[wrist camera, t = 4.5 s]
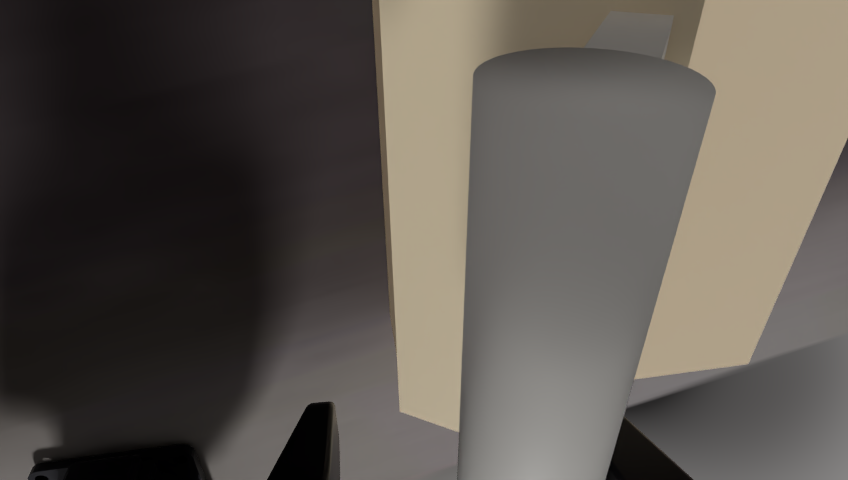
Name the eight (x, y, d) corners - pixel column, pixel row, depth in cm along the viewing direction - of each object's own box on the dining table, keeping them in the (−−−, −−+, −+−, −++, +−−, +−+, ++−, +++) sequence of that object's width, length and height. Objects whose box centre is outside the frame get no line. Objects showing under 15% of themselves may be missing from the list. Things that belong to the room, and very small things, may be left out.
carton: (674, 282, 23) (749, 367, 19) (389, 314, 22) (406, 414, 18) (793, -113, 16) (959, -107, 12) (366, -106, 14) (385, -97, 10)
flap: (591, 463, 16) (530, 756, 11) (406, 400, 18) (277, 620, 13) (731, -79, 9) (753, 11, 3) (387, -85, 11) (56, -36, 5)
